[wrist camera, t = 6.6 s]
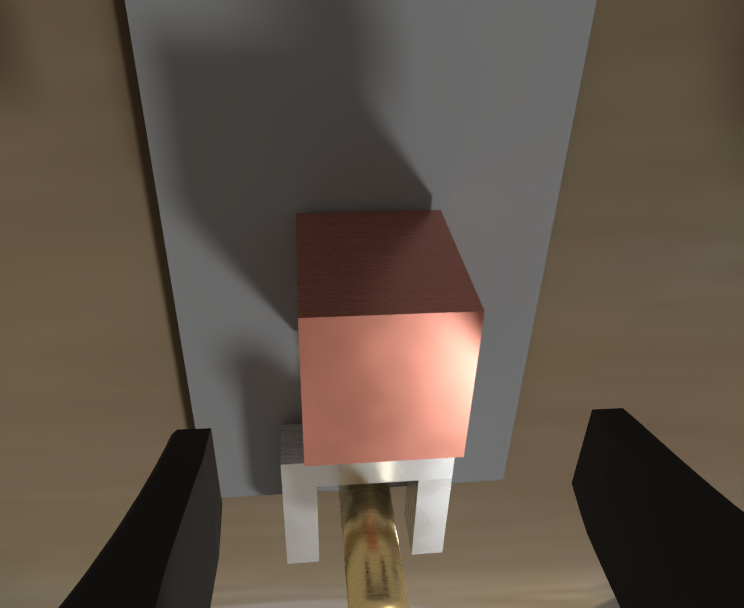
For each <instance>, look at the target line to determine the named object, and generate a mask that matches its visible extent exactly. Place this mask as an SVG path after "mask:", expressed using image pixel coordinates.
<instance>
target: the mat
mask: <svg viewBox="0 0 744 608" xmlns="http://www.w3.org/2000/svg"><path fill="white" fill-rule="evenodd" d="M596 1H597V0H125V5H126V11H127V17H128V23H129V29H130V35H131V41H132V47H133V53H134V60H135V66H136V72H137V78H138V84H139V90H140V96H141V102H142V108H143V114H144V120H145V126H146V132H147V138H148V144H149V151H150V157H151V163H152V169H153V175H154V181H155V187H156V193H157V199H158V205H159V211H160V217H161V223H162V229H163V235H164V242H165V248H166V254H167V260H168V266H169V272H170V278H171V284H172V290H173V296H174V302H175V308H176V314H177V320H178V326H179V333H180V339H181V345H182V351H183V357H184V363H185V369H186V375H187V381H188V387H189V393H190V399H191V405H192V411H193V417H194V424H195V429H202V428H211V431H212V437H213V444H214V451H215V458H216V465H217V471H218V478H219V485H220V492H221V498H226V497H242V496H258V495H273V494H283V492H282V478H281V425H288V424H303V422H302V399H301V376H300V353H299V329H298V294H297V247H296V213H329V212H374V211H419V210H441V212H442V214H443V216H444V218H445V221H446V223H447V225H448V228H449V230H450V232H451V235H452V237H453V239H454V241H455V244H456V246H457V248H458V251H459V253H460V255H461V258H462V260H463V262H464V265H465V267H466V269H467V271H468V274H469V276H470V278H471V281H472V283H473V285H474V288H475V290H476V292H477V294H478V297H479V299H480V301H481V304H482V306H483V308H484V311H485V313H484V320H483V326H482V333H481V340H480V347H479V354H478V361H477V368H476V375H475V382H474V389H473V396H472V403H471V410H470V417H469V424H468V431H467V438H466V445H465V451H464V457H455V459H454V466H453V474H452V481H451V483H461V482H476V481H492V480H503V477H504V472H505V467H506V462H507V457H508V452H509V447H510V441H511V436H512V431H513V426H514V421H515V416H516V411H517V406H518V400H519V395H520V390H521V385H522V380H523V375H524V370H525V365H526V359H527V354H528V349H529V344H530V339H531V334H532V329H533V324H534V319H535V313H536V308H537V303H538V298H539V293H540V288H541V283H542V278H543V272H544V267H545V262H546V257H547V252H548V247H549V242H550V237H551V231H552V226H553V221H554V216H555V211H556V206H557V201H558V196H559V190H560V185H561V180H562V175H563V170H564V165H565V160H566V155H567V149H568V144H569V139H570V134H571V129H572V124H573V119H574V114H575V109H576V103H577V98H578V93H579V88H580V83H581V78H582V73H583V68H584V62H585V57H586V52H587V47H588V42H589V37H590V32H591V27H592V21H593V16H594V11H595V6H596ZM398 486H407V481H401V482H389V487H398ZM336 490H339V486H322V487H317V492H320V491H336Z"/></svg>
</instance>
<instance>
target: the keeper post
mask: <svg viewBox="0 0 744 608" xmlns="http://www.w3.org/2000/svg"><path fill="white" fill-rule="evenodd" d="M338 486H339V499H340V511H341V524H342V536H343V549H344V561H345V574H346V586H347V599H348V608H409V605H408V599H407V592H406V586H405V580H404V574H403V568H402V561H401V555H400V549H399V543H398V537H397V530H396V524H395V518H394V512H393V506H392V499H391V493H390V487H389V482H385V483H369V484H353V485H338Z"/></svg>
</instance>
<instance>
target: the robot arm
mask: <svg viewBox="0 0 744 608" xmlns="http://www.w3.org/2000/svg"><path fill="white" fill-rule="evenodd" d="M572 485H573V489H574V492H575V496H576V499H577V503H578V506H579V510H580V513H581V516H582V519H583V522H584V525H585V528H586V531H587V534H588V536H589V539H590V541H591V543H592V546H593V548H594V550H595V552H596V555H597V557H598V559H599V561H600V564H601V566H602V568H603V570H604V573H605V575H606V577H607V579H608V581H609V584H610V586H611V588H612V590H613V592H614V595H615V597H616V599H617V601H618V603H619V605H620V608H744V512H743V511H742V510H740V509H739V508H738V507H736V506H735V505H734V504H733V503H732V502H730V501H729V500H728V499H727V498H725V497H724V496H723V495H722V494H720V493H719V492H718V491H717V490H716V489H715V488H713V487H712V486H711V485H710V484H709V483H707V482H706V481H705V480H704V479H703V478H702V477H700V476H699V475H698V474H697V473H696V472H695V471H693V470H692V469H691V468H690V467H689V466H688V465H687V464H685V463H684V462H683V461H682V460H681V459H680V458H679V457H677V456H676V455H675V454H674V453H673V452H672V451H671V450H670V449H668V448H667V447H666V446H665V445H664V444H663V443H662V442H661V441H659V440H658V439H657V438H656V437H655V436H654V435H653V434H652V433H651V432H649V431H648V430H647V429H646V428H645V427H644V426H643V425H642V424H640V423H639V422H638V421H637V420H636V419H635V418H634V417H632V416H631V415H630V414H629V413H628V412H627V411H625V410H624V409H623V408H617V409H596V410H592V412H591V416H590V419H589V423H588V427H587V430H586V434H585V437H584V441H583V445H582V448H581V452H580V455H579V459H578V463H577V466H576V470H575V473H574V477H573V480H572ZM221 516H222V499H221V492H220V485H219V478H218V471H217V465H216V458H215V451H214V444H213V437H212V431H211V428H202V429H182V430H176V431H175V432H174V433H173V434H172V435H171V437H170V439H169V441H168V443H167V445H166V447H165V449H164V451H163V453H162V455H161V457H160V458H159V460H158V462H157V464H156V466H155V468H154V469H153V471H152V473H151V475H150V476H149V478H148V480H147V481H146V483H145V485H144V487H143V488H142V490H141V492H140V493H139V495H138V496H137V498H136V500H135V501H134V503H133V504H132V506H131V507H130V509H129V511H128V512H127V514H126V515H125V517H124V519H123V520H122V522H121V523H120V525H119V526H118V528H117V529H116V531H115V532H114V534H113V535H112V537H111V538H110V539H109V541H108V542H107V544H106V545H105V547H104V548H103V549H102V551H101V552H100V554H99V555H98V556H97V558H96V559H95V561H94V562H93V563H92V565H91V566H90V568H89V569H88V570H87V572H86V573H85V574H84V576H83V577H82V578H81V580H80V581H79V582H78V584H77V585H76V586H75V588H74V589H73V590H72V591H71V593H70V594H69V595H68V596H67V598H66V599H65V600H64V601H63V603H62V604H61V605H60V606H59V608H210V605H211V600H212V594H213V588H214V582H215V576H216V571H217V565H218V559H219V547H220V532H221Z"/></svg>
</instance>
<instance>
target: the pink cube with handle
mask: <svg viewBox="0 0 744 608" xmlns="http://www.w3.org/2000/svg"><path fill="white" fill-rule="evenodd" d="M296 247H297V294H298V329H299V353H300V376H301V399H302V422H303V424H288V425H281V478H282V492H283V506H284V520H285V534H286V548H287V562H288V564H291V563H304V562H317V561H319V542H318V507H317V487H322V486H338V485H353V484H369V483H385V482H401V481H407V491H406V503H405V519H406V525H407V531H408V536H409V542H410V548H411V553H412V554H425V553H438V552H442V549H443V541H444V534H445V526H446V519H447V511H448V504H449V496H450V489H451V481H452V474H453V466H454V459H455V457H464V451H465V445H466V438H467V431H468V424H469V417H470V410H471V403H472V396H473V389H474V382H475V375H476V368H477V361H478V354H479V347H480V340H481V333H482V326H483V320H484V313H485V311H484V308H483V306H482V304H481V301H480V299H479V297H478V294H477V292H476V290H475V288H474V285H473V283H472V281H471V278H470V276H469V274H468V271H467V269H466V267H465V265H464V262H463V260H462V258H461V255H460V253H459V251H458V248H457V246H456V244H455V241H454V239H453V237H452V235H451V232H450V230H449V228H448V225H447V223H446V221H445V218H444V216H443V214H442V212H441V210H419V211H374V212H329V213H296Z"/></svg>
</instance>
